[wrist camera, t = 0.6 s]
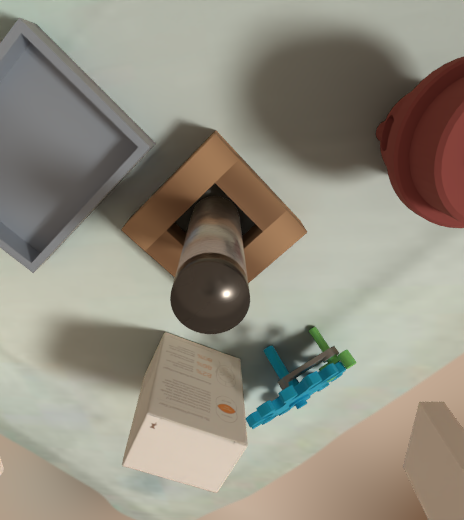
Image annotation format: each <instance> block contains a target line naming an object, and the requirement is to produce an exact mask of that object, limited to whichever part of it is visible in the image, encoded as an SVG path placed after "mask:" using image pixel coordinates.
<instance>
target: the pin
mask: <svg viewBox="0 0 464 520" xmlns="http://www.w3.org/2000/svg"><path fill="white" fill-rule="evenodd" d="M170 300H171V306H172V310H173V312H174V314H175V316H176V317H177V318H178V320H179V321H180V322H181V323H182V324H183V325H185V326H186V327H187V328H189V329H191V330H193V331H196V332H199V333H204V334H217V333H222V332H225V331H228V330H230V329H232V328H234V327H235V326H236V325H238V324H239V323H240V322H241V321H242V320H243V318H244V317H245V315H246V314H247V311H248V309H249V304H250V294H249V286H248V278H247V271H246V263H245V255H244V248H243V240H242V232H241V225H240V217H239V212H238V210H237V208H236V206H235V205H234V204H233V203H232V202H231V201H230V200H228V199H226V198H224V197H221V196H209V197H206V198H204V199H202V200H201V201H200V202H198V203H197V205H196V206H195V207H194V209H193V212H192V215H191V219H190V223H189V227H188V230H187V234H186V238H185V242H184V245H183V249H182V253H181V257H180V260H179V264H178V268H177V272H176V276H175V279H174V283H173V287H172V291H171V299H170Z"/></svg>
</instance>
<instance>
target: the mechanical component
mask: <svg viewBox="0 0 464 520" xmlns="http://www.w3.org/2000/svg"><path fill="white" fill-rule="evenodd" d="M376 137H377V139H378V140H379V141H380V150H381V154H382V158H383V160H384V163H385V165H386V166H387V171H388V175H389V179H390V182H391V185H392V187H393V189H394V191H395V193H396V194H397V196H398V197H399V199H400V200H401V201H402V202H403V203H404V204H405V205H406V206H407V207H408V208H409V209H410V210H412V211H413V212H414V213H416V214H418V215H419V216H421V217H423V218H424V219H426V220H428V221H429V222H432V223H435V224H437V225H441V226H445V227H451V228H464V57H461V58H457V59H455V60H453V61H451V62H449V63H446V64H444V65H443V66H441V67H440V68H438V69H436V70H435V71H433V72H432V73H431V74H429V75H428V76H427V77H426V78H425V79H423V80H422V81H421V82H420V83H419V84H418V85H417V86H416V87H415V88H414V89H413V90H412V91H411V92H410V93H408V94H407V95H405V96H404V97H403V98H402V99H400V100H399V101H398V102H397V104H396V105H395V106H394V107H393V108H392V110H391V111H390V113H389V114H388V116H387V118H386V120H385V121H384V122H382V123H381V124H379V126H378V127H377V130H376Z"/></svg>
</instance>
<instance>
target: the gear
mask: <svg viewBox="0 0 464 520" xmlns="http://www.w3.org/2000/svg"><path fill="white" fill-rule="evenodd" d="M309 332H310V334H311V335H312V337H313V338H314V340H315V341H316V343H317V344H318V346H319V347H320V349H321V350H322V353H321V354H319V355H318V356H316V357H315V358H313V359H311V360H310V361H308V362H307V363H305V364H304V365H302V366H300V367H299V368H297V369H296V370H294V371H293V372H291V373H289V372H288V370H287V369H286V367H285V365H284V364H283V362H282V360H281V359H280V357H279V355H278V354H277V352H276V350H275V349H274V347H273V345H271V346H269V347H267V348H266V349H264V353H265V355H266V356H267V358H268V360H269V361H270V363H271V365H272V367H273V368H274V370H275V372H276V373H277V375H278V377H279V378H280V380H279V381H278V383H279V385H280V387H281V389H282V391H281V392H279V393H278V394H279V397H278V398H276V399H275V400H273V401H270V400H269V401H267V402H265V403H263V404H262V405H261V406H259V407H258V408H256V409H257V411H256V412H254V413H252V414H250V415H249V416H248V417H247V418H246V421H247V422H248V424H249V426H250V428H251V427H252V429H254V428H256V427H257V426H259V425H260V424H262V425H263V424H265V423H267V422H269V421H271V420H272V419H273V418H275V417H276V416H278V415H279V416H280V415H282V414H284V413H286V412H287V411H289V410H290V409H291V408H292V407H294V406H296V407H297V409H299V408H301V407H302V406H304V405H306V404H307V402H306V400H307V399H309V398H310V395H312V394H313V393H314V392H316V391H320V390H322V389H324V388H325V387H327V386H328V385H329V382H332V381H334V380H336V379H337V378H339V377H340V376H341V375H342V373H343V372H344V371H345V370H346V369H348V368H350V367H351V366H353V365H354V364H356V361H355V360H354V358H353V357H352V355H351V354H350V353H349V351H348V350H345V351H343V352H342V353H340V354H339V352H338V351H337V349H336V348H335V346H333V347H331V348H329V346H328V345H327V343H326V342H325V340H324V339H323V337H322V336H321V334H320V333H319V331H318V330H317V328H316V327H314V328H312V329H311V330H309ZM338 354H339V355H338ZM337 355H338V356H337ZM322 361H323V362H324V363H325V362H328V363H327V364H326V365H324V366H322V367H321V368H320V369H319V372H317V371H315V372H313V373H311V374H309V375H307V376H306V377H304V378H303V380H302V381H301V382H300V383H299V382H298V380H297V379H296V377H298V376H300V375H301V374H303V373H304V372H306V371H308V370H309V369H311V368H312V367H314V366H315V365H317V364H319V363H320V362H322ZM339 361H340V362H339ZM342 363H343V364H342ZM344 366H345V367H344Z"/></svg>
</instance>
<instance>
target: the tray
mask: <svg viewBox="0 0 464 520" xmlns="http://www.w3.org/2000/svg"><path fill="white" fill-rule="evenodd" d="M155 144H156V143H155V142H154V141H153V140H152V139H151V138H150V137H149V136H148V135H147V134H146V133H145V132H144V131H143V130H142V129H141V128H140V127H139V126H138V125H137V124H136V123H135V122H134V121H133V120H132V119H131V118H130V117H129V116H128V115H127V114H126V113H125V112H124V111H123V110H122V109H121V108H120V107H119V106H118V105H117V104H116V103H115V102H114V101H113V100H112V99H111V98H110V97H109V96H108V95H107V94H106V93H105V92H104V91H103V90H102V89H101V88H100V87H99V86H98V85H97V84H96V83H95V82H94V81H93V80H92V79H91V78H90V77H89V76H88V75H87V74H86V73H85V72H84V71H83V70H82V69H81V68H80V67H79V66H78V65H77V64H76V63H75V62H74V61H73V60H72V59H71V58H70V57H69V56H68V55H67V54H66V53H65V52H64V51H63V50H62V49H61V48H60V47H59V46H58V45H57V44H56V43H55V42H54V41H53V40H52V39H51V38H50V37H49V36H48V35H47V34H46V33H45V32H44V31H43V30H42V29H41V28H40V27H39V26H38V25H37V24H35V23H32V22H29V21H27V20H24V19H21V18H18V20H17V21H16V22H15V24H14V25H13V26H12V28H11V29H10V31H9V32H8V33H7V35H6V36H5V37H4V39H3V40H2V42H1V43H0V248H2V249H3V250H4V251H6V252H7V253H8V254H9V255H11V256H12V257H13V258H15V259H16V260H17V261H18V262H20V263H21V264H22V265H24V266H25V267H26V268H27V269H29V270H30V271H31V272H33V273H34V272H35V271H36V270H37V269H38V268H39V267H40V266H41V265H42V264H43V263H44V262H45V261H46V260H47V259H48V258H49V257H50V256H51V255H52V254H53V253H54V252H55V251H56V250H57V249H58V248H59V247H60V246H61V244H62V243H63V242H64V241H65V240H66V239H67V238H68V237H69V236H70V235H71V234H72V233H73V232H74V231H75V229H76V228H77V227H78V226H79V225H80V224H81V223H82V222H83V221H84V220H85V219H86V218H87V217H88V216H89V215H90V213H91V212H92V211H93V210H94V209H95V208H96V207H97V206H98V205H99V204H100V203H101V202H102V201H103V200H104V198H105V197H106V196H107V195H108V194H109V193H110V192H111V191H112V190H113V189H114V188H115V187H116V186H117V185H118V184H119V182H120V181H121V180H122V179H123V178H124V177H125V176H126V175H127V174H128V173H129V172H130V171H131V170H132V169H133V167H134V166H135V165H136V164H137V163H138V162H139V161H140V160H141V159H142V158H143V157H144V156H145V155H146V154H147V153H148V151H149V150H150V149H151V148H152V147H153V146H154V145H155Z"/></svg>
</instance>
